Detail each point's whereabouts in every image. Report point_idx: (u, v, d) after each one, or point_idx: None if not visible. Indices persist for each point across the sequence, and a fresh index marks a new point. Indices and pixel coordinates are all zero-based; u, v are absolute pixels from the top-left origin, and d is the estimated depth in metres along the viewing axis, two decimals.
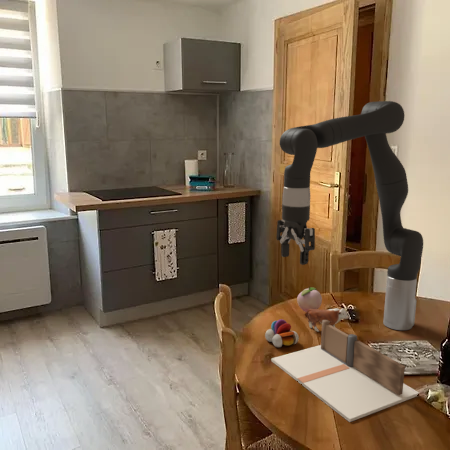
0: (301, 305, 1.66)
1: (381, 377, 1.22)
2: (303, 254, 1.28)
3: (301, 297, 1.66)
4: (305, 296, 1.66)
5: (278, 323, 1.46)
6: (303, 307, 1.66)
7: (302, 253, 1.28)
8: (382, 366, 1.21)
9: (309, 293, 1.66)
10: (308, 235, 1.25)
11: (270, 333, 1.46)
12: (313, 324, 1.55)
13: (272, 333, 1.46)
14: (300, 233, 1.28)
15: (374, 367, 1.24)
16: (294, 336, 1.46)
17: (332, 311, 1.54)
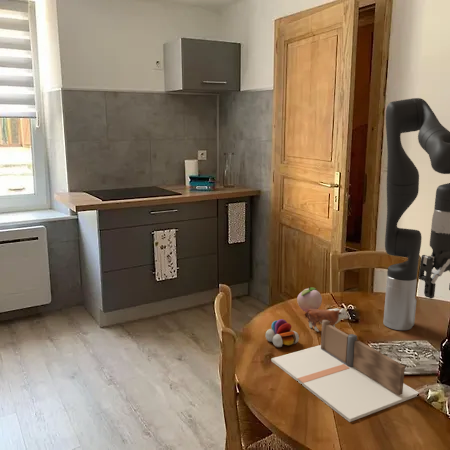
0: (301, 305, 1.66)
1: (381, 377, 1.22)
2: None
3: (301, 297, 1.66)
4: (305, 296, 1.66)
5: (278, 323, 1.46)
6: (303, 307, 1.66)
7: None
8: (382, 366, 1.21)
9: (309, 293, 1.66)
10: None
11: (270, 333, 1.47)
12: (313, 324, 1.55)
13: (272, 333, 1.47)
14: None
15: (374, 367, 1.24)
16: (294, 336, 1.46)
17: (332, 312, 1.54)
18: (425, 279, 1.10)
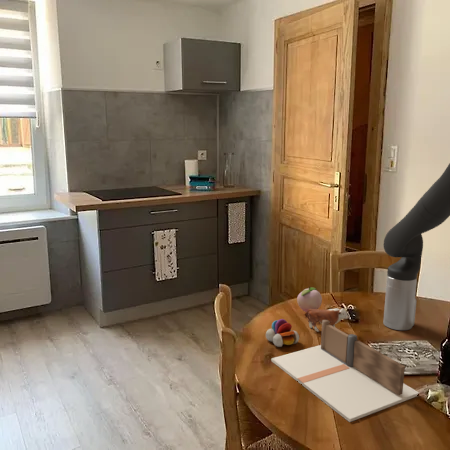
0: (301, 305, 1.66)
1: (381, 377, 1.22)
2: None
3: (301, 297, 1.66)
4: (305, 296, 1.66)
5: (279, 323, 1.47)
6: (303, 307, 1.66)
7: None
8: (382, 366, 1.21)
9: (309, 293, 1.66)
10: None
11: (270, 333, 1.47)
12: (313, 324, 1.55)
13: (273, 333, 1.47)
14: None
15: (374, 367, 1.24)
16: (295, 336, 1.46)
17: (332, 311, 1.54)
18: None
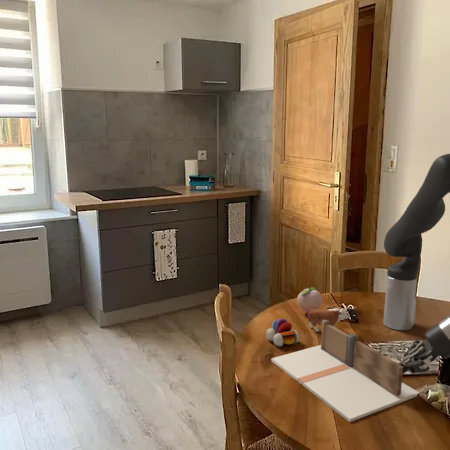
0: (301, 305, 1.66)
1: (380, 377, 1.22)
2: None
3: (301, 297, 1.66)
4: (305, 296, 1.66)
5: (279, 322, 1.47)
6: (303, 307, 1.66)
7: None
8: (381, 366, 1.21)
9: (309, 293, 1.66)
10: None
11: (271, 332, 1.47)
12: (313, 324, 1.55)
13: (273, 332, 1.47)
14: None
15: (373, 367, 1.24)
16: (295, 335, 1.46)
17: (332, 311, 1.54)
18: (412, 371, 1.15)
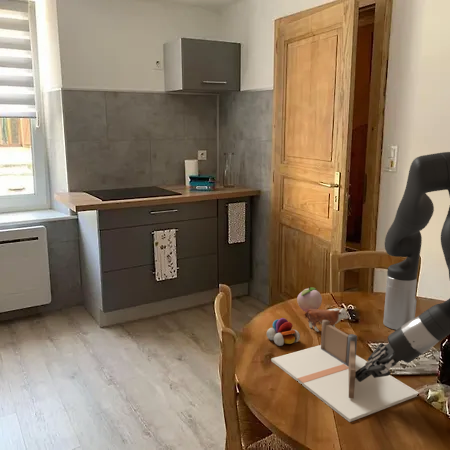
0: (301, 305, 1.66)
1: None
2: None
3: (301, 297, 1.66)
4: (305, 296, 1.66)
5: (279, 322, 1.47)
6: (303, 307, 1.66)
7: None
8: None
9: (309, 293, 1.66)
10: None
11: (271, 332, 1.47)
12: (313, 324, 1.55)
13: (273, 332, 1.47)
14: None
15: (349, 368, 1.23)
16: (295, 335, 1.47)
17: (332, 311, 1.54)
18: (375, 375, 1.14)
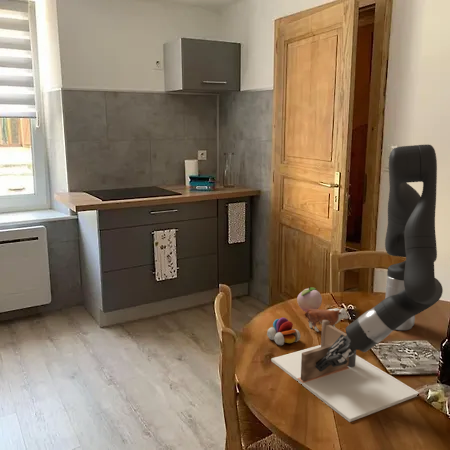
0: (301, 305, 1.66)
1: None
2: None
3: (301, 297, 1.66)
4: (305, 296, 1.66)
5: (280, 321, 1.48)
6: (303, 307, 1.66)
7: None
8: None
9: (309, 293, 1.66)
10: None
11: (272, 331, 1.48)
12: (313, 324, 1.55)
13: (274, 331, 1.48)
14: None
15: None
16: (296, 334, 1.47)
17: (332, 311, 1.54)
18: (333, 365, 1.19)
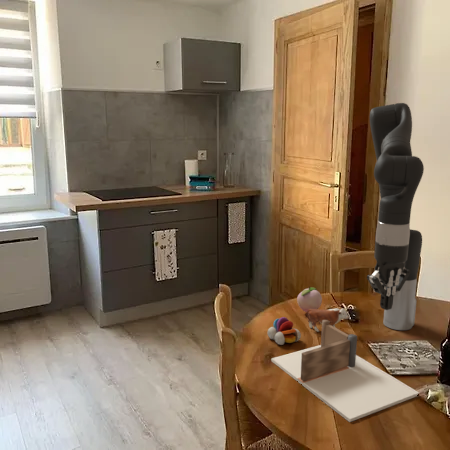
0: (301, 305, 1.66)
1: None
2: None
3: (301, 297, 1.66)
4: (305, 296, 1.66)
5: (280, 321, 1.48)
6: (303, 307, 1.66)
7: None
8: None
9: (309, 293, 1.66)
10: None
11: (272, 331, 1.48)
12: (313, 324, 1.55)
13: (274, 331, 1.48)
14: None
15: None
16: (296, 334, 1.47)
17: (332, 312, 1.54)
18: (380, 292, 1.13)
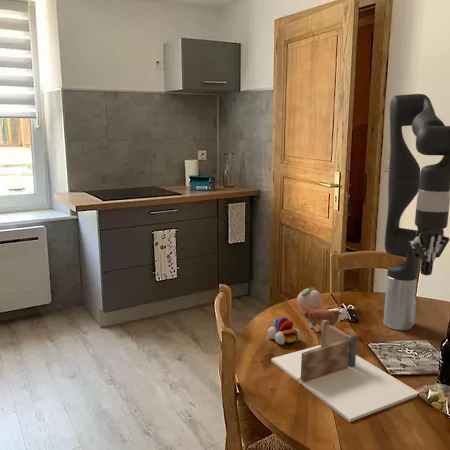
0: (301, 305, 1.66)
1: None
2: None
3: (301, 297, 1.66)
4: (305, 296, 1.66)
5: (280, 320, 1.48)
6: (303, 307, 1.66)
7: None
8: None
9: (309, 293, 1.66)
10: None
11: (272, 331, 1.48)
12: (313, 324, 1.55)
13: (275, 330, 1.48)
14: (439, 242, 1.20)
15: None
16: (296, 333, 1.47)
17: (332, 311, 1.54)
18: (421, 257, 1.18)
